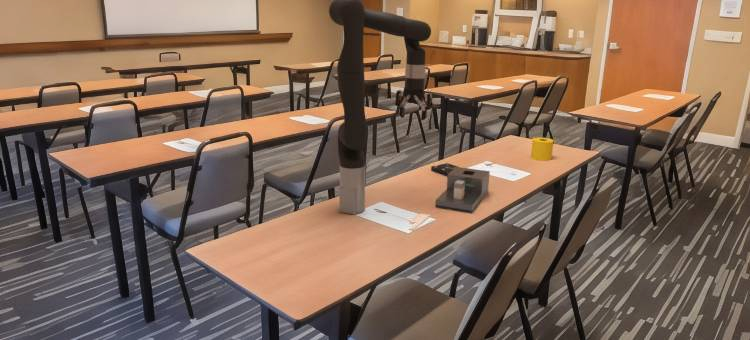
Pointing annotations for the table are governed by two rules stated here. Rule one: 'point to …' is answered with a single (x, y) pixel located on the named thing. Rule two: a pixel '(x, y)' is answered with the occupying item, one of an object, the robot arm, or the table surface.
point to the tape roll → (542, 149)
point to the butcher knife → (418, 220)
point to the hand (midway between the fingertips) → (412, 118)
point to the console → (472, 193)
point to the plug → (459, 189)
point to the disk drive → (443, 168)
